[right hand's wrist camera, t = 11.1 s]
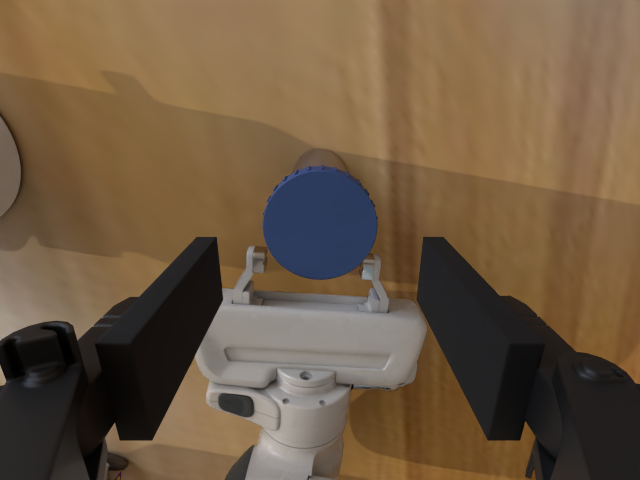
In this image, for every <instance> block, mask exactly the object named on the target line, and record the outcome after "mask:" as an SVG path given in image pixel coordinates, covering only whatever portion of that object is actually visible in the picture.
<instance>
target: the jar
mask: <svg viewBox="0 0 640 480" xmlns="http://www.w3.org/2000/svg"><path fill="white" fill-rule="evenodd" d="M309 165H310V167H312V166H321V165H324V166H328V167H333V168H334V167H337V169H340V170H342V171H344V172H348V171H347V169H346V167H345V165H344V163H343V161H342V160H341V158H340V157H339V156H338V155H337V154H335V153H334V152H332V151H330V150H327V149H314V150H310V151H308V152H306V153H305V154H303V155H302V156H301V157H300V158H299V160H298V161H297V163H296V165H295V167H294V169H293V172H292V173H294V172H295V171H296V170H297V169H298V170H301V169H303V168H307V167H308V166H309Z"/></svg>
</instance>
